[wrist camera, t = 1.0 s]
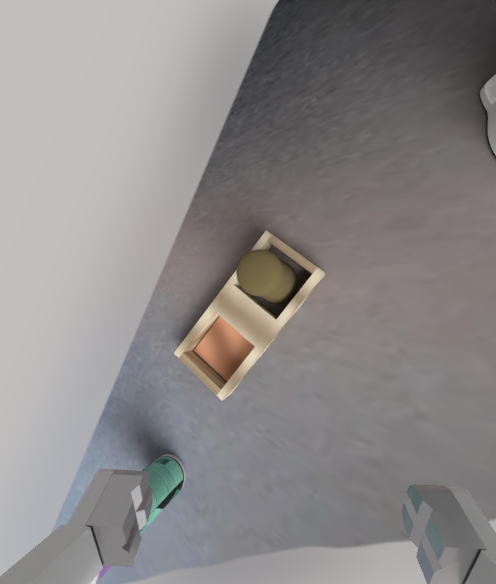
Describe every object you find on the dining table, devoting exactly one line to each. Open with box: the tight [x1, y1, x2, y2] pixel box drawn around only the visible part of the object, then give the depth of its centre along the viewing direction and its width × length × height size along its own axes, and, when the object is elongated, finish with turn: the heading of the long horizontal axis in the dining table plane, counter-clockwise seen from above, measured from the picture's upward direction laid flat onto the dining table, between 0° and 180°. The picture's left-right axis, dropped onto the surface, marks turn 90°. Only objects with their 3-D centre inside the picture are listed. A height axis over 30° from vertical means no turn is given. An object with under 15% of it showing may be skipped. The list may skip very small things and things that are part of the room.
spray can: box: [90, 454, 186, 584], centre depth 34 cm, size 6×6×20 cm
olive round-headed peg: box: [236, 249, 298, 304], centre depth 36 cm, size 6×6×11 cm
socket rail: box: [174, 230, 325, 400], centre depth 41 cm, size 22×10×3 cm, turn 141°
